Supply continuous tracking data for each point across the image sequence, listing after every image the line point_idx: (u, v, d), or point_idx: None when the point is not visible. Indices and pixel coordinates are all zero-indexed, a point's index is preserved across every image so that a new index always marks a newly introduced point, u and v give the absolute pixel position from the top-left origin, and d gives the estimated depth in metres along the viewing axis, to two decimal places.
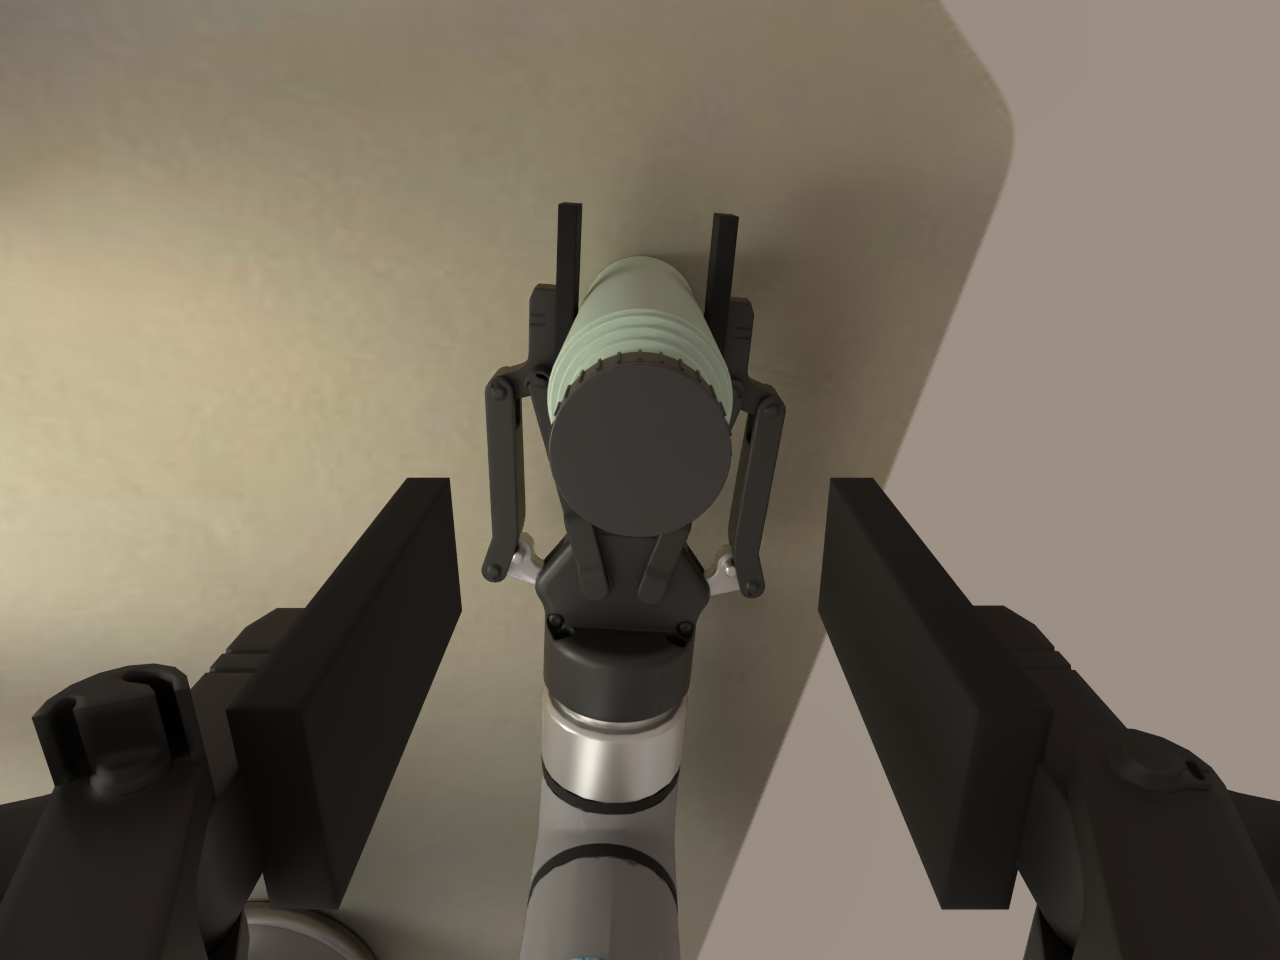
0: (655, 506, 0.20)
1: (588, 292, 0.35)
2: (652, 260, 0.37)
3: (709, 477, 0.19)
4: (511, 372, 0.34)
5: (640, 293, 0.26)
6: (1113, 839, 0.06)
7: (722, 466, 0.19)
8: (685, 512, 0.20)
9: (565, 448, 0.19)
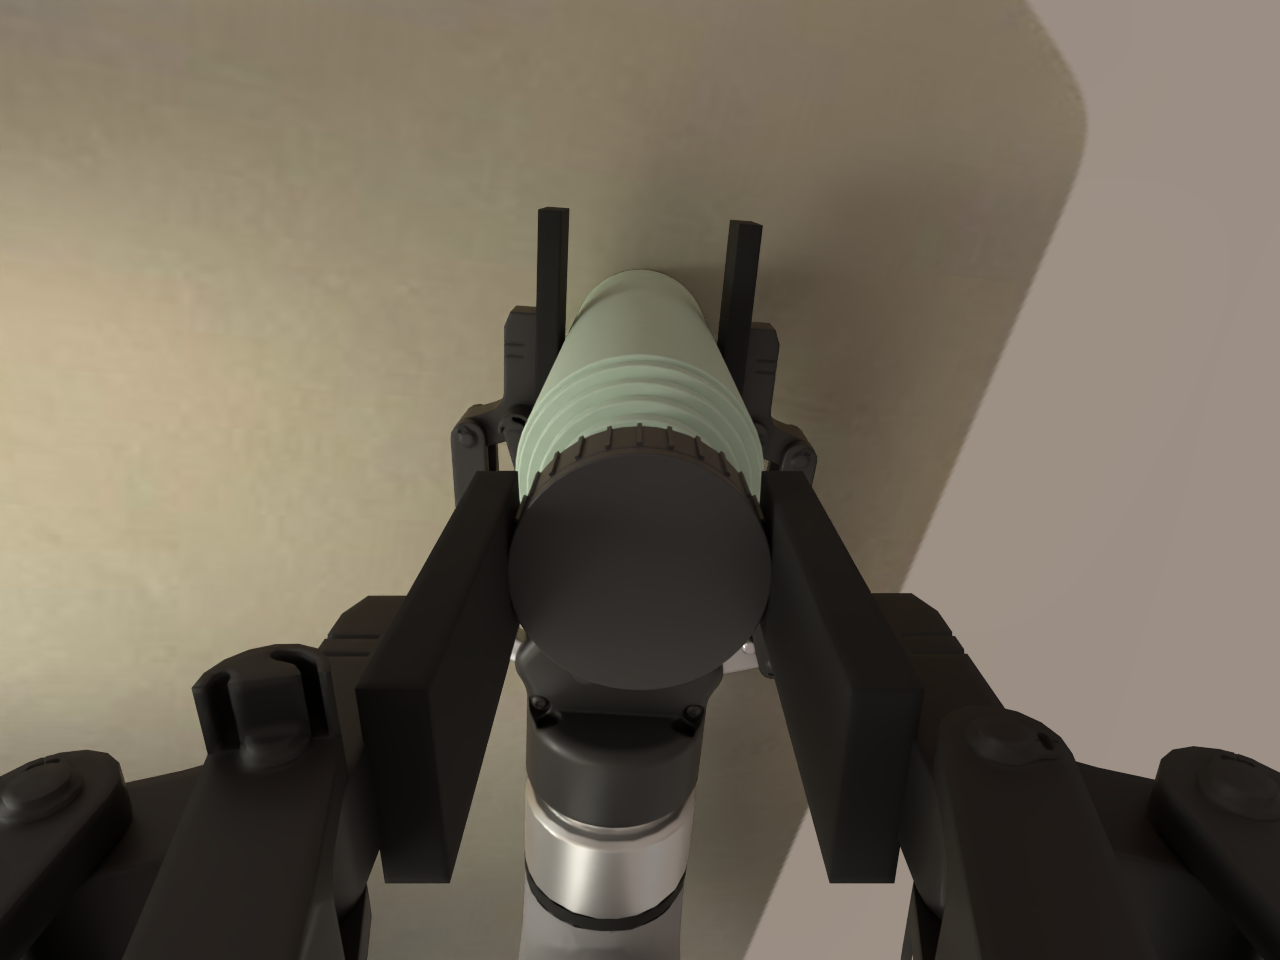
0: (661, 649, 0.14)
1: (577, 315, 0.29)
2: (654, 275, 0.31)
3: (740, 610, 0.13)
4: (483, 413, 0.28)
5: (640, 327, 0.20)
6: (970, 816, 0.07)
7: (759, 595, 0.13)
8: (705, 657, 0.14)
9: (530, 570, 0.13)
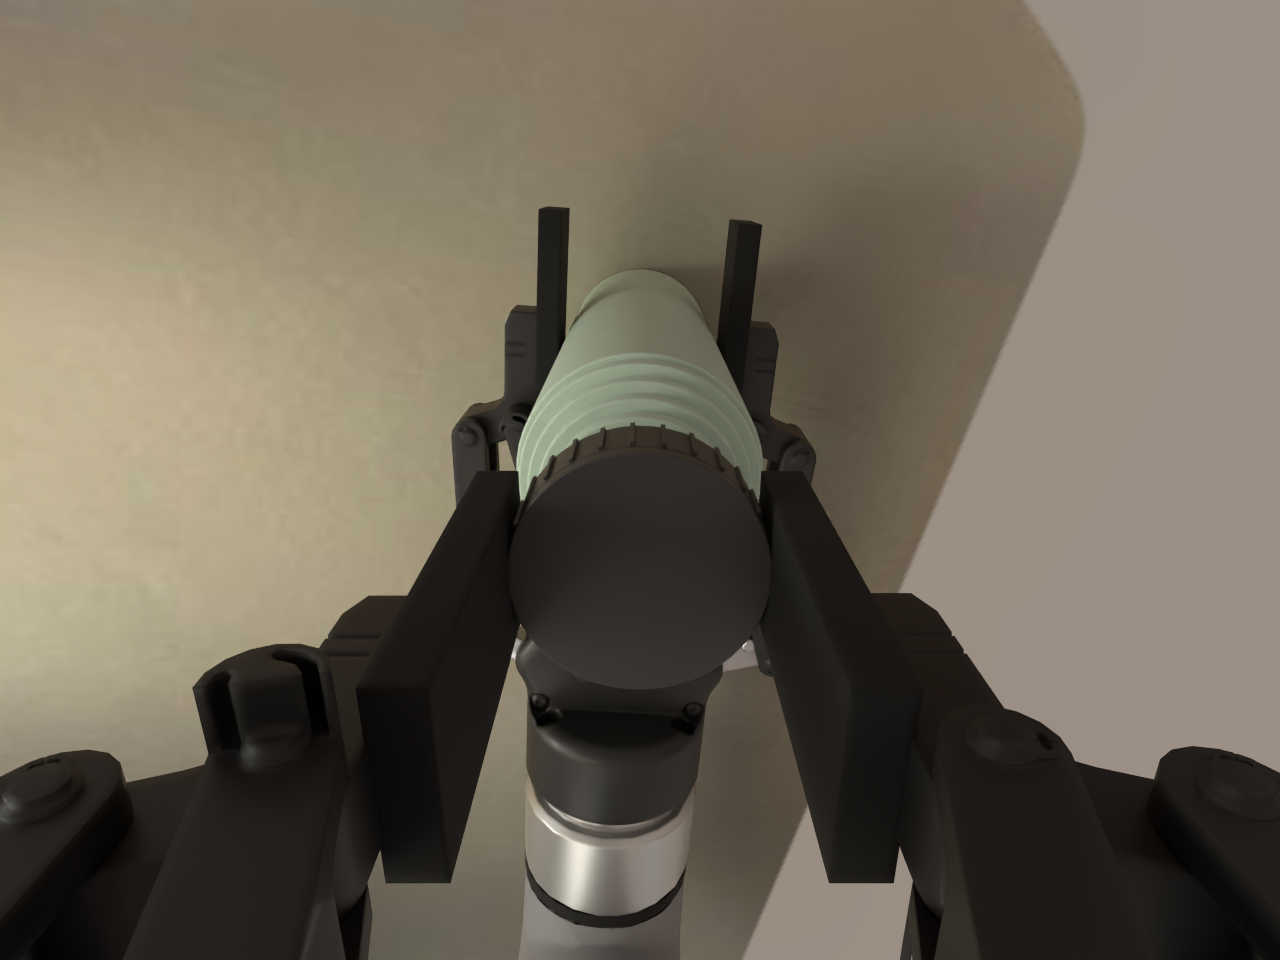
0: (681, 509, 0.13)
1: (577, 314, 0.29)
2: (654, 275, 0.31)
3: (588, 489, 0.13)
4: (483, 412, 0.28)
5: (640, 326, 0.20)
6: (970, 815, 0.07)
7: (561, 488, 0.13)
8: (654, 472, 0.12)
9: (709, 648, 0.14)
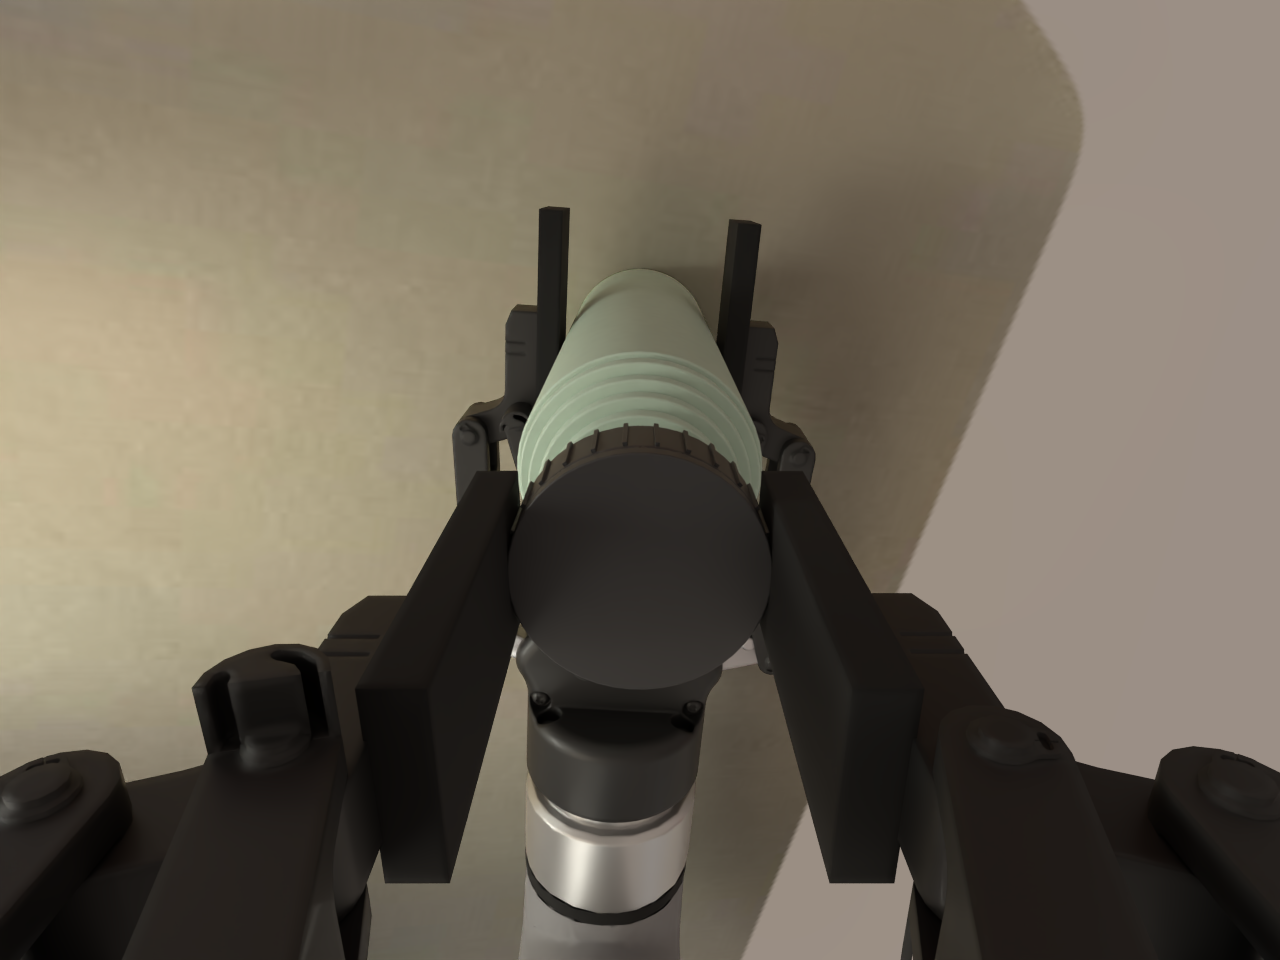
0: (559, 602, 0.13)
1: (578, 314, 0.29)
2: (654, 274, 0.31)
3: (610, 666, 0.14)
4: (484, 411, 0.28)
5: (640, 325, 0.20)
6: (969, 815, 0.07)
7: (627, 680, 0.14)
8: (554, 641, 0.14)
9: (643, 476, 0.12)
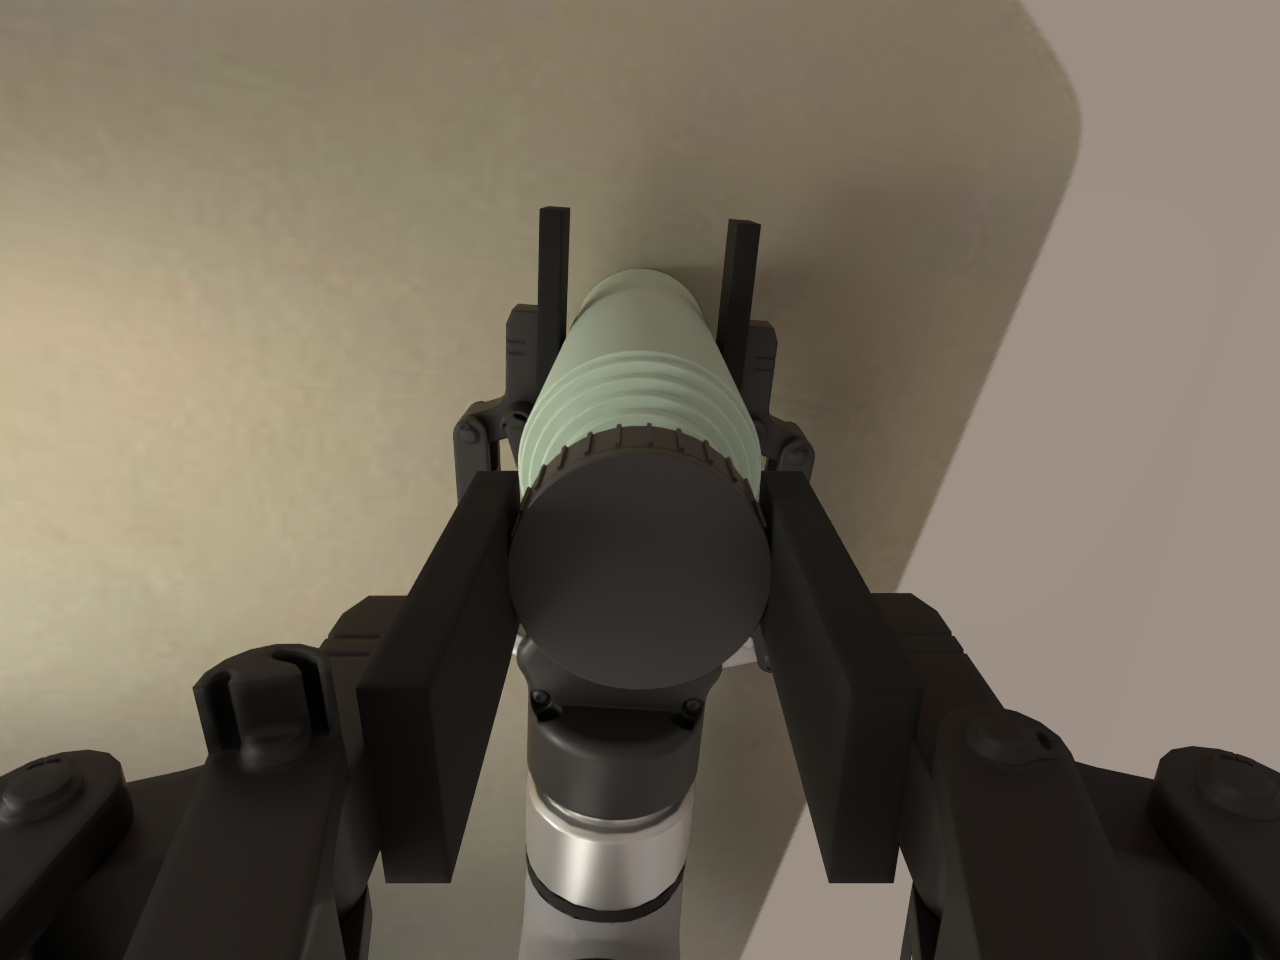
0: (715, 610, 0.13)
1: (578, 313, 0.29)
2: (654, 274, 0.31)
3: (736, 529, 0.13)
4: (485, 410, 0.28)
5: (640, 324, 0.20)
6: (969, 815, 0.07)
7: (736, 505, 0.13)
8: (753, 586, 0.13)
9: (564, 643, 0.14)
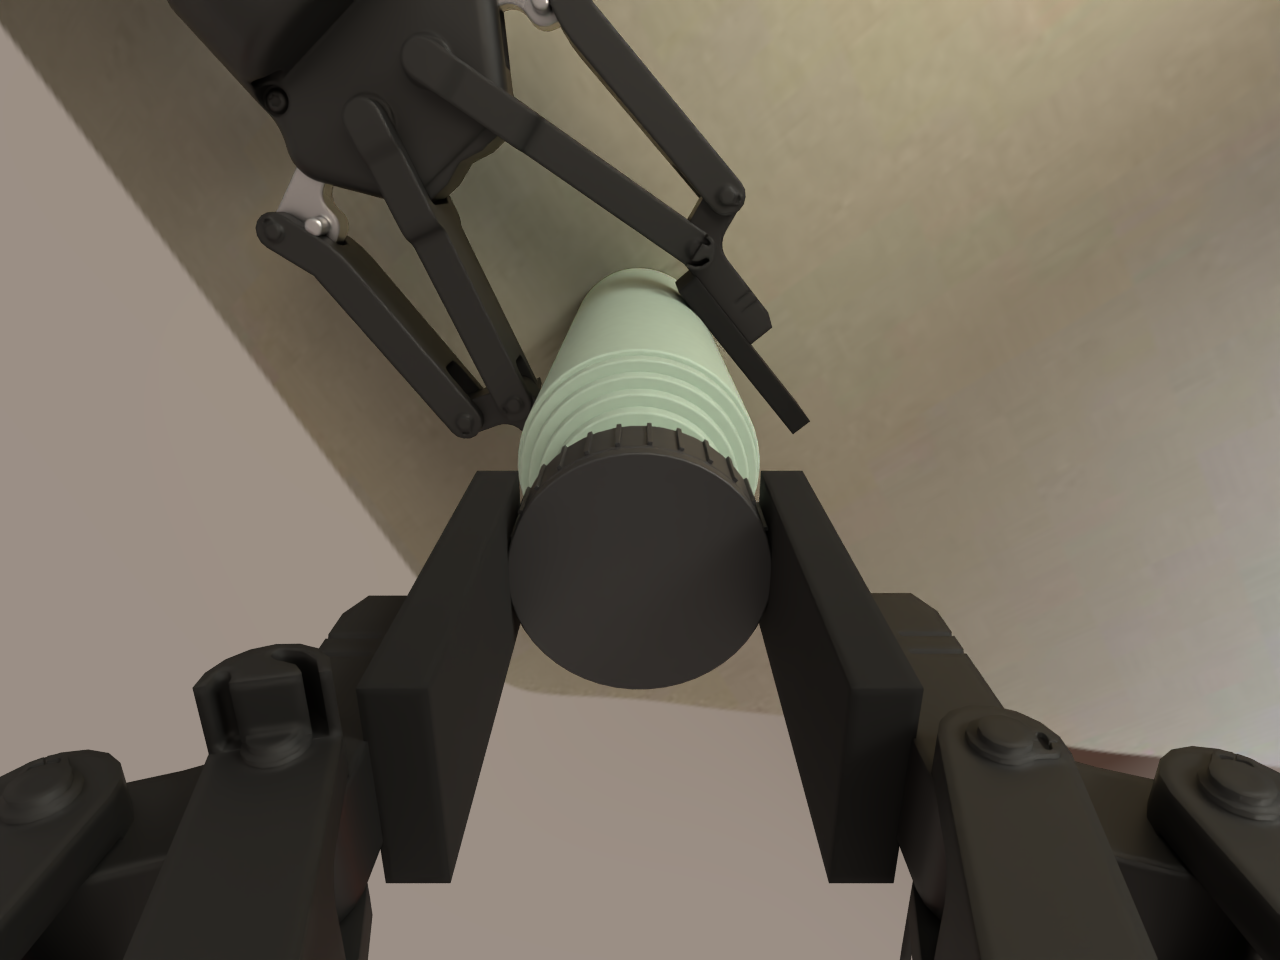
0: (715, 610, 0.13)
1: None
2: None
3: (736, 529, 0.13)
4: (728, 224, 0.26)
5: None
6: (970, 815, 0.07)
7: (736, 505, 0.13)
8: (753, 586, 0.13)
9: (564, 643, 0.14)
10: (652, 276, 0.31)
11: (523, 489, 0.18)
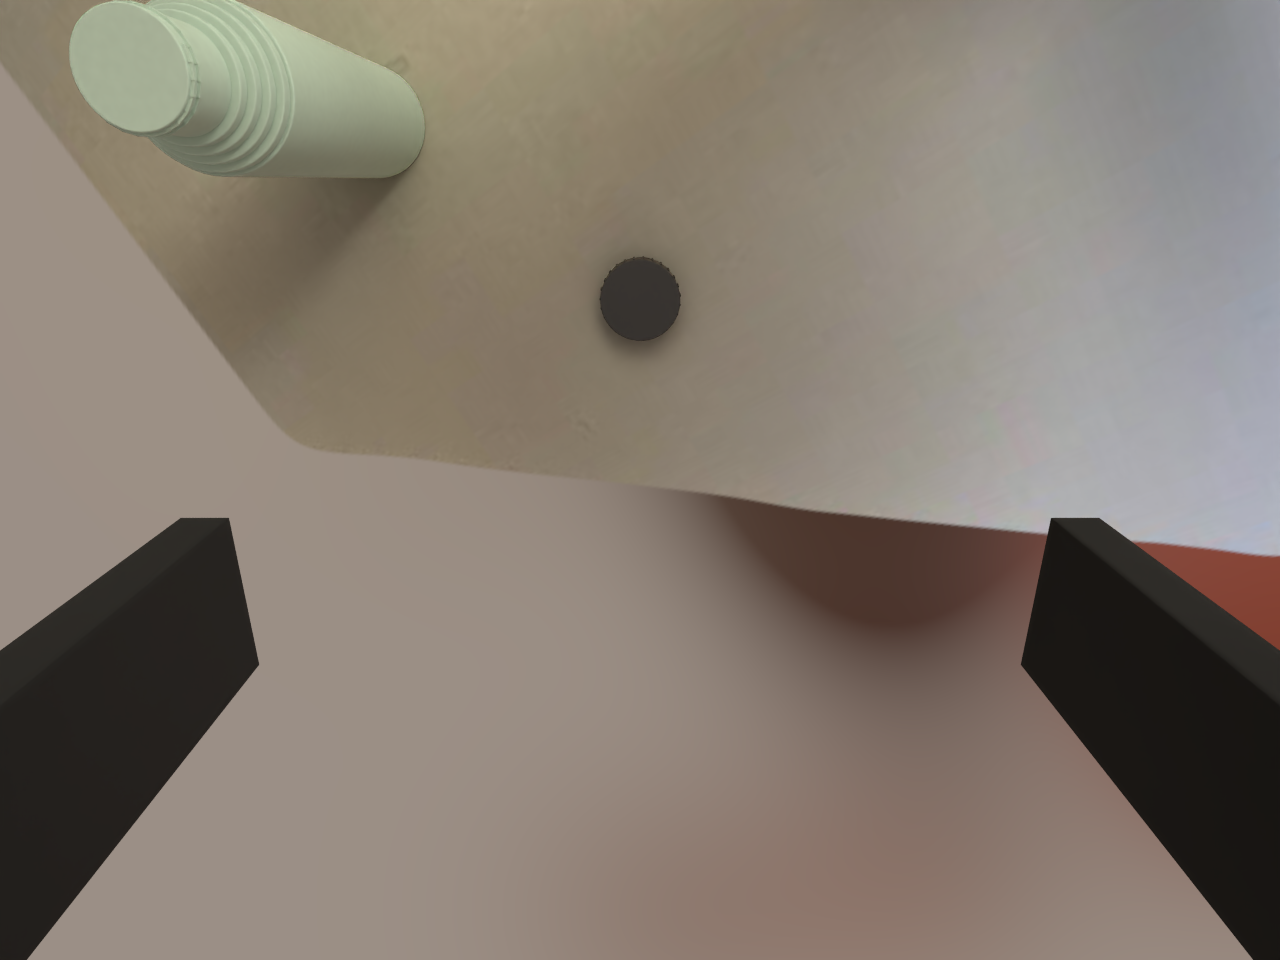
0: (663, 311, 0.44)
1: (400, 106, 0.38)
2: (395, 169, 0.41)
3: (668, 284, 0.44)
4: None
5: (313, 155, 0.30)
6: None
7: (668, 276, 0.43)
8: (674, 303, 0.44)
9: (617, 323, 0.44)
10: None
11: None
